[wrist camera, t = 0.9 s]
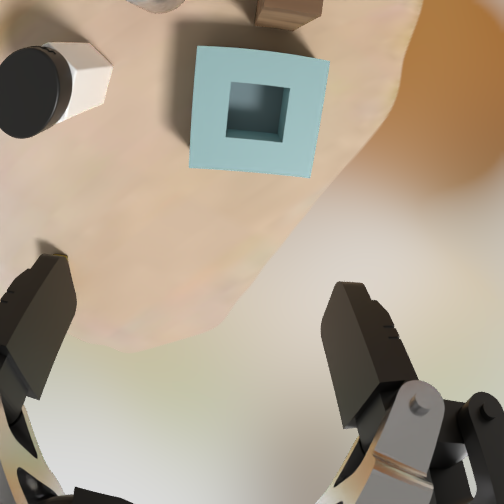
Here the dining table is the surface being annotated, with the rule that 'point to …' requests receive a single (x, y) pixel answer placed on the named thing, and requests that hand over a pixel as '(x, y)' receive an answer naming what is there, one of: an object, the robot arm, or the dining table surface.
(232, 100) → the socket block
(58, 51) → the jar
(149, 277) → the dining table surface
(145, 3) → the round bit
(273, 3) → the square peg
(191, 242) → the dining table surface
